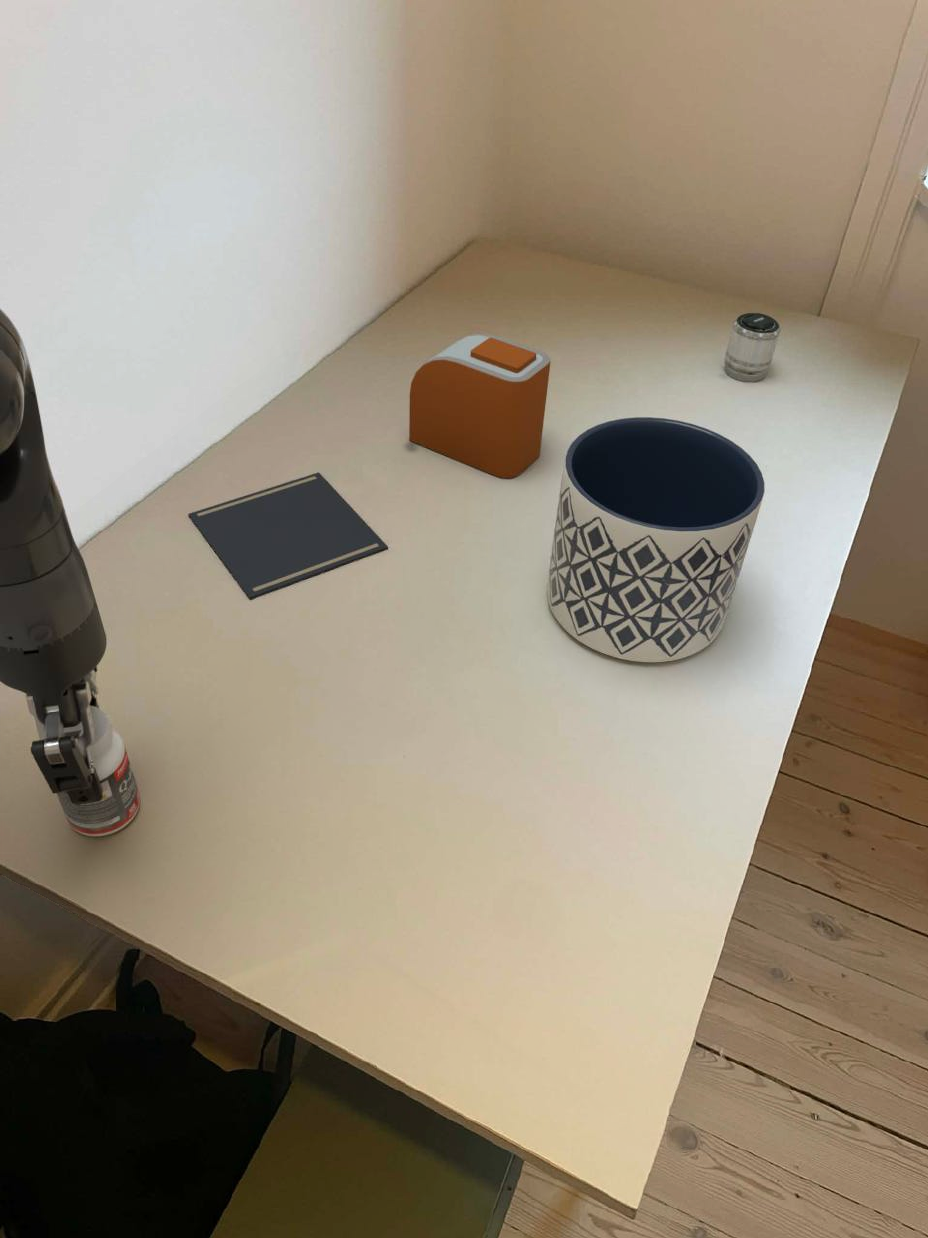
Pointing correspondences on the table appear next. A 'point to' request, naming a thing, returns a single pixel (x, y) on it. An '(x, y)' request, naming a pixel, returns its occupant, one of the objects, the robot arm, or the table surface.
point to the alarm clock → (482, 404)
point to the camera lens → (751, 346)
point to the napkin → (286, 534)
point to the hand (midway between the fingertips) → (89, 766)
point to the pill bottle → (105, 783)
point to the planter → (651, 536)
